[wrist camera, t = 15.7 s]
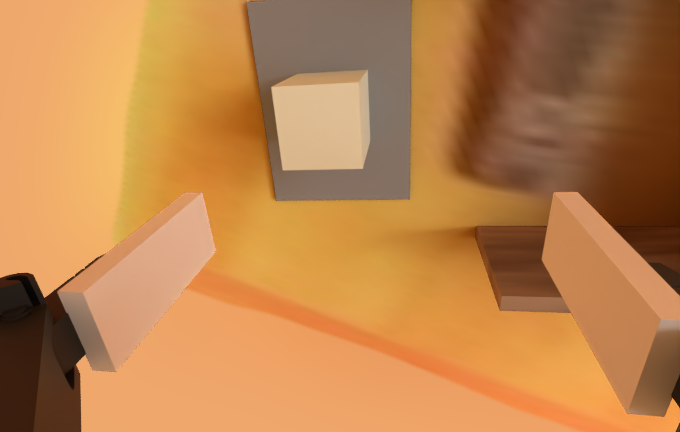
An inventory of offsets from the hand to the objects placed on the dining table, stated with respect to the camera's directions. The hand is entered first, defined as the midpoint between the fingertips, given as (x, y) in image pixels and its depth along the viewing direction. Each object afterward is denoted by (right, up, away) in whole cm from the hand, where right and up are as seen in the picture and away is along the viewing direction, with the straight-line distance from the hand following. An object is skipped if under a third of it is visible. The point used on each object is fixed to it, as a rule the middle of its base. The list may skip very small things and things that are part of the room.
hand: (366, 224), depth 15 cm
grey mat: (-1, +9, +17) cm, 19 cm away
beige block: (-1, +9, +17) cm, 19 cm away
